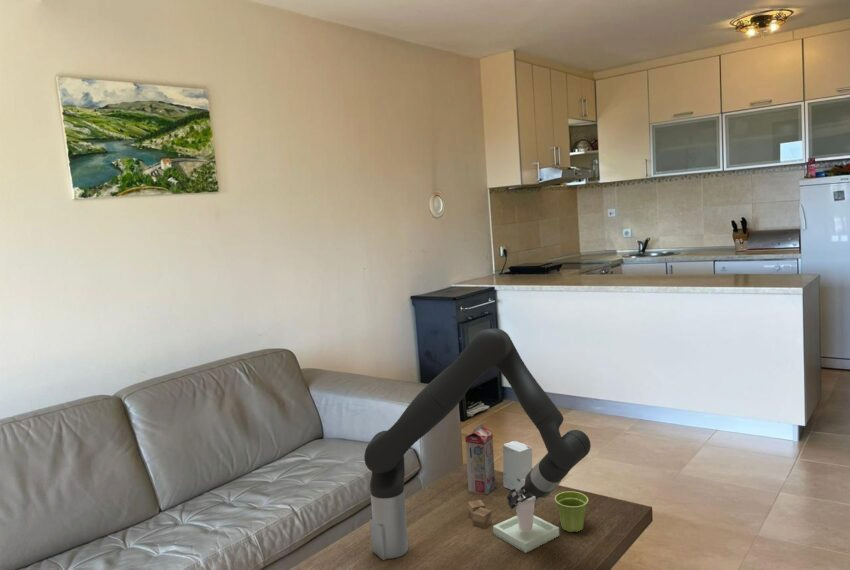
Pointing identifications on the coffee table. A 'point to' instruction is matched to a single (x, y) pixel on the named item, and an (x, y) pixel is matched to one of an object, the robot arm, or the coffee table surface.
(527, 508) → the smoothie
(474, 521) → the walnut block
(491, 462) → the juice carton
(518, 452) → the skincare box
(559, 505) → the plant pot
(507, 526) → the dish
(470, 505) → the walnut block
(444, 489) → the coffee table surface
